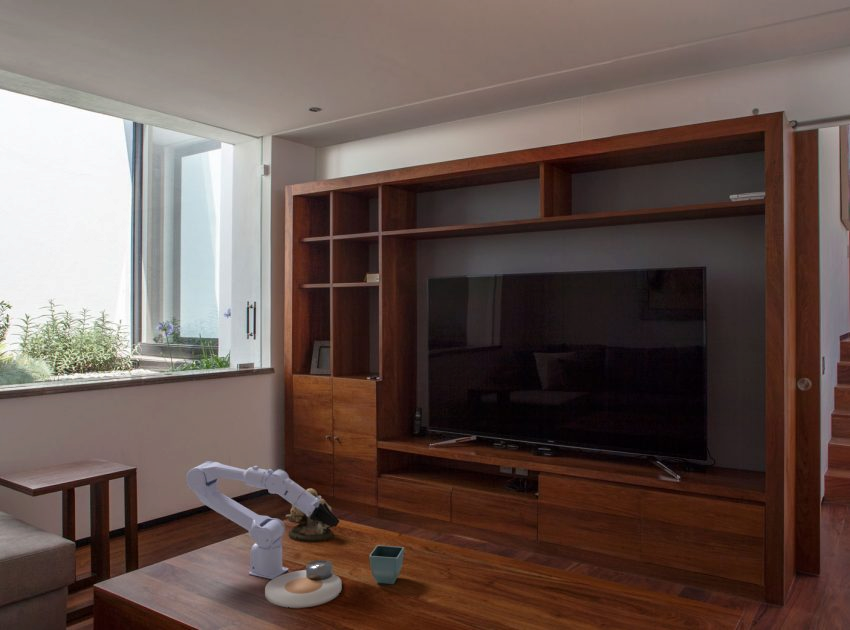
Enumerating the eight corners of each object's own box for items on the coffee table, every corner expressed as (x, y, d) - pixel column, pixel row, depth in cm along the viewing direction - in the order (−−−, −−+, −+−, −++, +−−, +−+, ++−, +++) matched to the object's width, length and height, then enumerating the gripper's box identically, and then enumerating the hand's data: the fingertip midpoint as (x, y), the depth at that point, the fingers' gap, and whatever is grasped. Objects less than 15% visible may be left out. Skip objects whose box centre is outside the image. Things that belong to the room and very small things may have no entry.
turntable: (248, 598, 188) (248, 593, 188) (296, 570, 208) (296, 565, 208) (312, 614, 179) (312, 608, 179) (355, 582, 199) (355, 577, 199)
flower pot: (398, 588, 195) (397, 557, 194) (369, 585, 196) (368, 555, 196) (404, 575, 203) (404, 546, 203) (377, 573, 205) (376, 545, 205)
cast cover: (300, 577, 199) (300, 567, 199) (316, 567, 206) (316, 558, 206) (322, 582, 195) (322, 571, 195) (337, 572, 203) (337, 562, 203)
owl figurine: (280, 540, 235) (279, 492, 235) (293, 529, 246) (292, 483, 246) (328, 543, 231) (327, 494, 231) (339, 532, 243) (338, 485, 242)
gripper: (304, 486, 198) (341, 512, 196) (311, 488, 212) (346, 512, 210) (290, 506, 196) (327, 533, 194) (298, 507, 210) (333, 532, 208)
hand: (336, 524), depth 202 cm, fingers open, 7 cm apart
